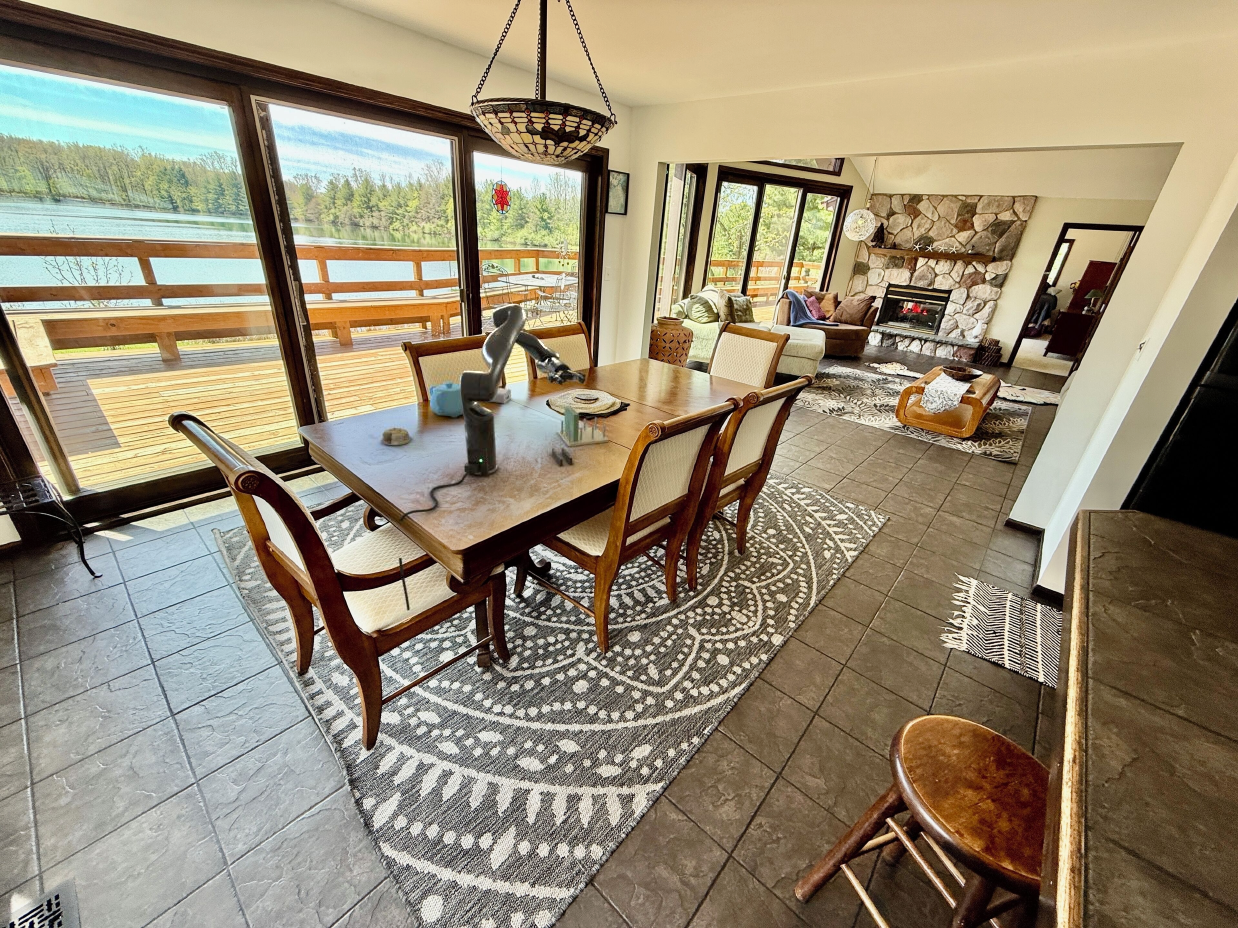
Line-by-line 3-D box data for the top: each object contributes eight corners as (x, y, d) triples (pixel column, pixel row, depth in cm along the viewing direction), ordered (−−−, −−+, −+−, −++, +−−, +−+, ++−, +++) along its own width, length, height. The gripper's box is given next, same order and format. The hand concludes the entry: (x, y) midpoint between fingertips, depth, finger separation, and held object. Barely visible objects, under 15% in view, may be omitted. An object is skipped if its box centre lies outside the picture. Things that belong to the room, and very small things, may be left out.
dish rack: (608, 441, 189) (609, 427, 186) (568, 446, 182) (569, 431, 180) (595, 429, 200) (596, 415, 197) (557, 433, 194) (557, 419, 191)
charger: (481, 395, 231) (511, 398, 229) (473, 400, 223) (504, 404, 221) (480, 385, 229) (510, 388, 227) (472, 390, 221) (503, 394, 219)
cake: (399, 434, 183) (398, 421, 181) (416, 441, 179) (416, 428, 177) (375, 440, 175) (374, 426, 173) (393, 448, 171) (392, 433, 169)
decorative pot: (469, 405, 216) (467, 376, 211) (473, 417, 203) (471, 386, 197) (430, 408, 210) (427, 378, 205) (432, 420, 197) (429, 388, 191)
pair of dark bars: (572, 464, 168) (572, 458, 167) (560, 466, 166) (560, 459, 165) (563, 453, 176) (563, 447, 175) (551, 454, 175) (551, 448, 174)
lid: (578, 441, 185) (579, 414, 180) (573, 441, 184) (574, 414, 179) (569, 431, 194) (569, 405, 189) (564, 431, 193) (564, 405, 188)
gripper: (541, 362, 188) (554, 372, 175) (576, 361, 194) (590, 371, 180) (541, 381, 191) (554, 392, 178) (575, 379, 197) (589, 390, 184)
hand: (572, 381), depth 179 cm, fingers open, 8 cm apart
